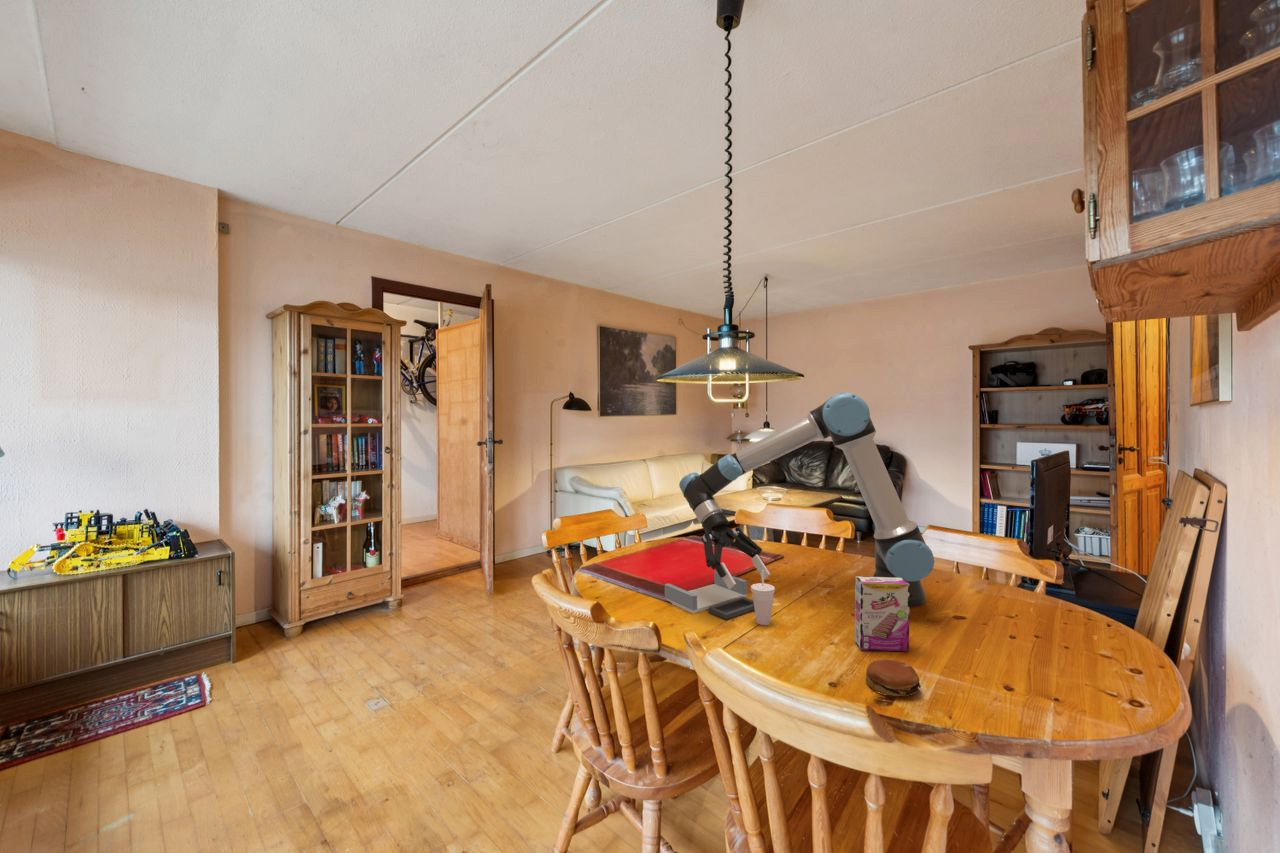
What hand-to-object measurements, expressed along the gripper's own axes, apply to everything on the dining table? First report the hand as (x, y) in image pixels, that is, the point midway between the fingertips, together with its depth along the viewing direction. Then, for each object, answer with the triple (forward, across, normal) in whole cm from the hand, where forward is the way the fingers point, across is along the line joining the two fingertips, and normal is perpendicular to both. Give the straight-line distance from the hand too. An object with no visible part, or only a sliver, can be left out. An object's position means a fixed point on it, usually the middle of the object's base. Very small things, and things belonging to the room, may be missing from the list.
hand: (750, 581), depth 139 cm
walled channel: (-6, -1, -20) cm, 21 cm away
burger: (+37, +3, +22) cm, 43 cm away
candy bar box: (+29, -12, +14) cm, 35 cm away
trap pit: (+3, -1, -12) cm, 12 cm away
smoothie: (+10, -1, -5) cm, 11 cm away
